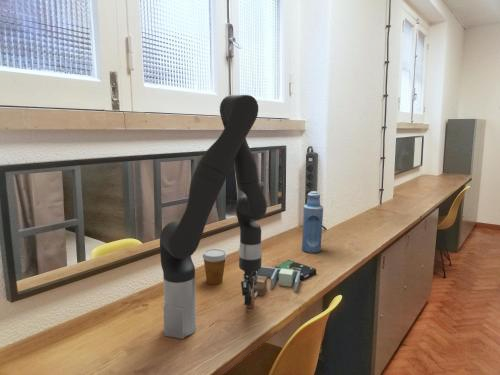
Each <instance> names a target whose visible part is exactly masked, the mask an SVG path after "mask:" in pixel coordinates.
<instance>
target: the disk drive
mask: <svg viewBox="0 0 500 375" xmlns="http://www.w3.org/2000/svg"><path fill="white" fill-rule="evenodd" d="M274 268H280V269H281V268H282V269H290V270H297V271H300V281H301V282H303V281H306V280H307V279H309V278H311V277H313V276H315V275H316V274H317V268H314V267H311V266H309V265H305V264H303V263H299V262H296V261H294V260H290V259H287V260H286V261H284V262H281V263H279V264H278V265H275V266H274Z"/></svg>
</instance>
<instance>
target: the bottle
mask: <svg viewBox="0 0 500 375" xmlns="http://www.w3.org/2000/svg"><path fill="white" fill-rule="evenodd" d="M323 216H324V206H323V205H321V194H320V192H318V191H317V190H316V191H315V190H312V191H309V192H308V193H307V200H306V204H304V205H303V216H302V218H303V220H302V221H303V222H302V235H301V236H302V237H301V250H302V251H303V252H304V253H307V254H318V253H320V252H322V234H323Z"/></svg>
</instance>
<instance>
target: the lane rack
mask: <svg viewBox="0 0 500 375" xmlns="http://www.w3.org/2000/svg"><path fill="white" fill-rule="evenodd" d="M280 270H281V269H280V268H275V267H271V266H270V267H269V266H263V265H261V269H260V270H258V275H257V276H264V277H267V278H270V285H269V286H270V289H271V290H273V289H274V286H275V284H276V282H277V280H278V279H279V272H280ZM293 281H294V288H293V290H294V292H295V293H297V291H298V288H299V284H300V281H301V280H300V271H297V270H294V273H293Z"/></svg>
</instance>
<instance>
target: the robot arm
mask: <svg viewBox="0 0 500 375" xmlns="http://www.w3.org/2000/svg"><path fill="white" fill-rule="evenodd" d="M219 114H220V115H219V116H220V119H221V122H222V126H223V128H224V129H223V131H222V133H221V134H220V135H219V137H218V138H217V139H216V140H215V141H214V142H213V144H212V145H210V147H209V148H208V149H207V150H206V151H205V152H204V153H203V154H202V155H201V157H200V159H199V161H198V163H197V166H196V168H195V169H194V172H193V174H192V178H191V180H190V184H189V185H190V186H189V190H188V191H189V193H188V198H187V205H186V208H185V211H184V213H183V214H182V216H181V219H180V221H175V220H174V221H171V222H169V223H166V225H165V226H164V227H163V228H162V230H161V232H160V236H159V250H160V251H159V252H160V254H159V255H160V264H161V269H162V274H163V276H162V277H163V304H164V305H163V333H164V334H163V335H164V336H165V337H170V338H176V339H180V340H184V339H185V338H186V337H188V336H190V335H193V333H194V332H195V331H196V330H197V329H196V326H197V325H196V322H197V321H196V315H197V314H196V313H197V312H196V266H195V264H194V262H193V259H192V255H193V254H194V253H195V252H196V250H197V249H198V246H199V244H200V241H201V239H202V236H203V232H204V230H205V228H206V225H207V222H208V218H209V217H210V214H211V212H212V209H213V208H214V206H215V203H216V200H217V199H218V196H219V194H220V192H221V190H222V188H223V186H224V184H225V182H226V179H227V177H228V176H229V173H230V170H231V168H232V165H233V167H234V174H235V179H236V185H237V188H238V191H240V192H242V193H243V194H244V195H240V196H239V198H238V199H237V201H236V205H235V213H236V217H237V221H238V222H237V223H238V226H239V230H240V231H239V233H240V234H239V236H240V237H239V239H240V240H239V248H238V251H239V253H238V254H239V255H238V256H239V257H238V258H239V260H238V262H239V263H238V268H239V269H240V270H242V271H243V274H242V279H243V280H242V281H241V282H240V285H241V286H240V287H241V295H242V296H243V297H244V306H246V305H247V306H250V305H251V295H252V289H253V288H254V298H255V299H256V297H255V288H256V286H255V285H256V284H257V275H258V270H260V269H261V266H262V252H263V250H262V249H263V248H262V227H261V225H259V224H258V223H256V221H255V220H261V219H263V218H264V217H265V215H266V212H267V208H268V207H267V206H268V204H267V200H266V196H265V194H264V192H263V190H262V188H261V185H260V182H259V173H258V166H257V161H256V160H255V156H254V154H253V153H252V150H251V148H250V145H249V143H248V141H247V136H248V135H249V133H250V130H251V129H252V127H254V124H255V123H256V120H257V118H258V115H259V104H258V101H257V99H256V98H255V97H254V96H252V95H250V94H231V95H227V96H225V97H224V98H223V99H222V101H220V105H219ZM250 285H251V286H250ZM246 291H247V292H246Z"/></svg>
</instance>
